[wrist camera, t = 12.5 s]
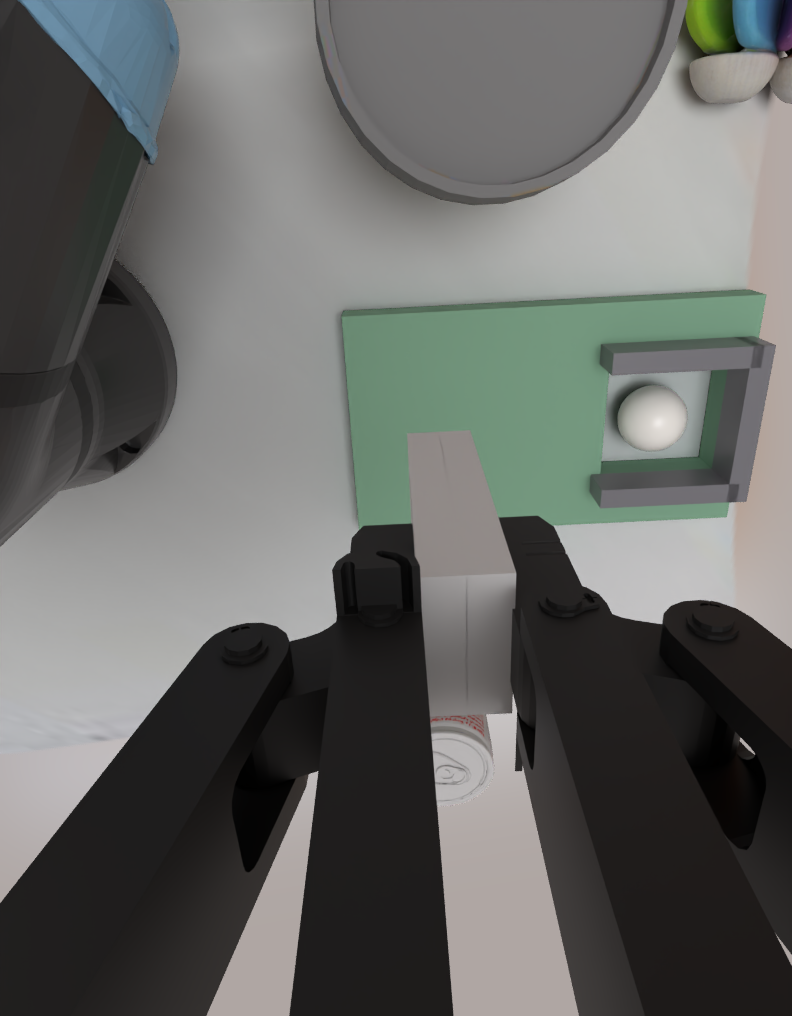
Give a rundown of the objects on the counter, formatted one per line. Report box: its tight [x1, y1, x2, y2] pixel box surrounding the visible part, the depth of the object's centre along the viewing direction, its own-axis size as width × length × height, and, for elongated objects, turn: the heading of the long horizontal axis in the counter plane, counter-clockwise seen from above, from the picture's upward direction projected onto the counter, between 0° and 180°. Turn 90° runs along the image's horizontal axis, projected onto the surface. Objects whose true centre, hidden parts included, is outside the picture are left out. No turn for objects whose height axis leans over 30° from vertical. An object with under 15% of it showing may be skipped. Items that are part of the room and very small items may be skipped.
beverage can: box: [430, 714, 494, 806], centre depth 43 cm, size 6×6×15 cm
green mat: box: [342, 290, 766, 530], centre depth 42 cm, size 24×14×2 cm, turn 93°
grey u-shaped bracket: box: [589, 336, 776, 509], centre depth 40 cm, size 9×9×2 cm
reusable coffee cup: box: [314, 0, 688, 205], centre depth 28 cm, size 13×13×15 cm
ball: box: [617, 385, 688, 451], centre depth 41 cm, size 4×4×4 cm
